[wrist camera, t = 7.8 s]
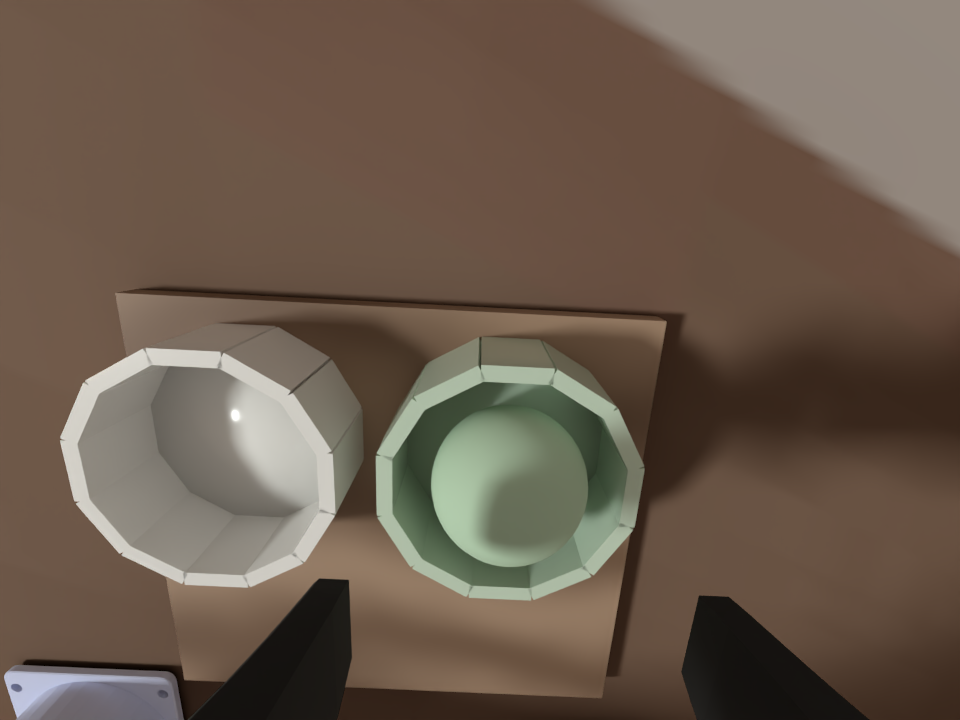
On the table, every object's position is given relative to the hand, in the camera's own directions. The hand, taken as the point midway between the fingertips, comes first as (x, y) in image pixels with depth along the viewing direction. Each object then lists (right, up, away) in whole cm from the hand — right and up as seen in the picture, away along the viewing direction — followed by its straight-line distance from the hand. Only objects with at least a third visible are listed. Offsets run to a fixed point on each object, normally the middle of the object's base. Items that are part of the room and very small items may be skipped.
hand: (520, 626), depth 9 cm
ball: (0, +2, +8) cm, 8 cm away
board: (-4, -1, +10) cm, 11 cm away
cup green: (0, +2, +8) cm, 8 cm away
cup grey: (-9, +3, +8) cm, 13 cm away
